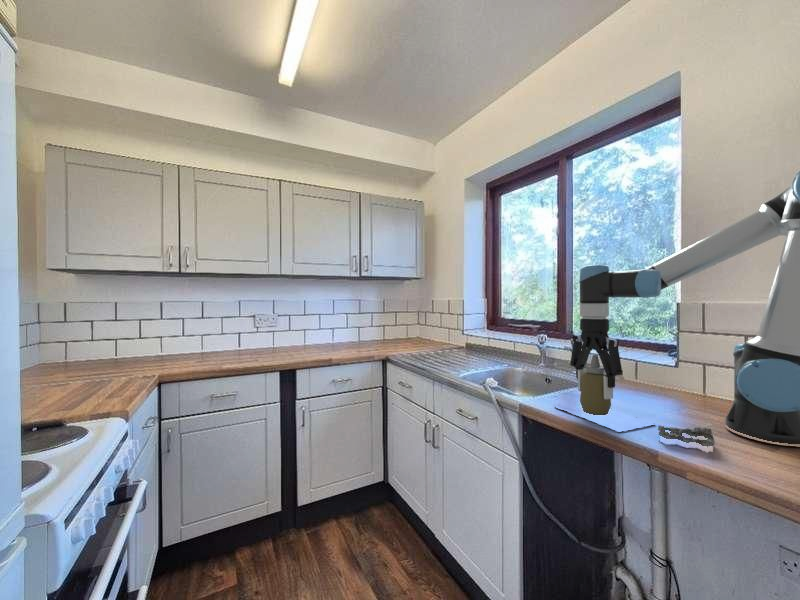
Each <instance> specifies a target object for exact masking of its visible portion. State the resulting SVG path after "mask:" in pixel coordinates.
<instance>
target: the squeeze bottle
mask: <svg viewBox="0 0 800 600" xmlns="http://www.w3.org/2000/svg"><path fill="white" fill-rule="evenodd" d="M599 359H600V358H599V354H598V353H593V354H592V358H591V361H590V364H589V365H585V367H586V368H585V369H586V373H584V374H583V377H582V386H581V391H580V396H579V397H580V398H579V402H580V403H581V405H582V408H583V411H584V412H586V413H589V414H593V415H606V414H608V412H609V409H610V408H611V407H612V399H604V376H605V375H606V373H605V370H604V367H603V365H602V366H601V363H600V360H599Z"/></svg>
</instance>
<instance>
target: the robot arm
mask: <svg viewBox="0 0 800 600" xmlns="http://www.w3.org/2000/svg"><path fill="white" fill-rule="evenodd" d="M779 236H784V237H785V236H786V238H785V241H784V244H783V247H782V251H781V255H780V258H779V262H778V265H777V268H776V271H775V275H774V278H773V281H772V284H771V287H770V291H769V295H768V298H767V301H766V305H765V309H764V312H763V314H762V318H761V322H760V325H759V329H758V332H757V335H756V336H755V337H753V338H750V339H748V340H746V341H745V343H738V344H735V346H734V349H733V356H732V357H734V358H733V359H734V360H733V362H734V363H733V364H734V366H733V371H734V372H733V378H734V379H733V381H734V382H733V383H734V384H733V388H734V389H733V390H734V391H733V394H734V397H733V403H732V404H731V406H730V409H729V411H728V413H727V415H726V417H725V419H724V421H725V422H724V423H725V424H726V425H727V426H728V427H729V428H731V429H733V430H735V431H737V432H740V433H743V434H746V435H749V436H752V437H756V438H759V439H763V440H767V441H772V442H779V443H788V444H800V171H798V172H797V173H796V175H795V177H794V178H793V180H792V183H791V185H790V186H789V187H787V188H786V189H785V190H784V191H782V192H781V193H780V194H778V195H777V196H775V197H773V198H772V199H770V200H768V201H766V202H764V203H762V204H761V206H760V208H759V210H758V211H756V212H754V213H752V214H749V216H747V217H744V218H743V219H740V220H739V221H738V220H737V222H734V223H732V224H731V225H729V226H727V227H724V228H723V229H720V230H719V231H716V232H715V233H712V234H711V235H709V236H707V237H705V238H702V239H701V240H698V241H697V242H695V243H693V244H691V245H689V246H688V247H685V248H683V249H681V250H679V251H678V252H675V253H673V254H672V255H670V256H667V257H665V258H664V259H661V260H660V261H658V262H656V263H654V264H652V265H649V266H647V267H645V268H644V269H643V268H642V269H634V270H633V269H632V270H618V271H613V270H610V268H609V265H607V264H591V265H585V266H584V265H583V266H582V267H581V268H580V270H579V281H578V282H579V316H580V317H581V318H580V319H579V330H580V331H581V333H580V334H574V335H573V334H572V350H571V354H570V355H571V357H570V366H571V367H574V368H575V373H576V375H575V376H576V377H575V378H576V380H577V392H581V386H582V377H583V374H584V373H586V372H587V371H586V364H587V362H588V358H589V357H590V354H591V351H593V350H594V351H595V352H596V354H597V355H598V358H599V359H600V362H601V364H602V367H604V373H605V376H604V399H611V400H612V399H614V388H615V387H616V376H617V377H618V376H621V375H623V368H622V363H621V357H620V356H621V355H620V352H619V344H620V340H619V339H613V338H610V336H609V333H608V332H609V331H610V319H609V316H610V298H613V299H614V298H627V299H628V298H629V299H630V298H632V299H633V298H642V299H648V298H657V297H659V296H660V295H661V291H662V290H664V289H666V288H669V287H671V286H672V285H674V284H677V283H679V282H681V281H683V280H685V279H688V278H689V277H692V276H694V275H697V274H698V273H701V272H703V271H705V270H707V269H709V268H712V267H713V266H716V265H718V264H721V263H723V262H725V261H726V260H729V259H731V258H733V257H736V256H737V255H740V254H742V253H744V252H746V251H748V250H750V249H753V248H755V247H757V246H760V245H762V244H764V243H766V242H769V241H771V240H772V239H775V238H777V237H779Z"/></svg>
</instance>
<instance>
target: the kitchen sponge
mask: <svg viewBox="0 0 800 600" xmlns="http://www.w3.org/2000/svg"><path fill="white" fill-rule="evenodd" d="M665 430H669V431H671V432H670V434H669V433H668V432H665ZM657 431H658V436H659V435H660V436H662V437H664V438H666V439H678V440H681V441H683V442H686V443H689V442H696V443H699V444H701V445H702V446H707V447H708V446H714V447H715V444H716V442H715V437H714V436H713V431H712V429H711V428H706V427H699V426H698V427H695V426H694V428H693V429H692V428H689V427H686V428H679V427H671V426H670V427H667V426H666V427H665V425H659V424H658V426H657ZM659 431H660V432H659ZM682 433H686V434H688V435H690V436H695V437H697V436H704V437H705V438H708V439H707V440H699V439H693V438H692V437H691V438H685V437H684V436H682Z"/></svg>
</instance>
